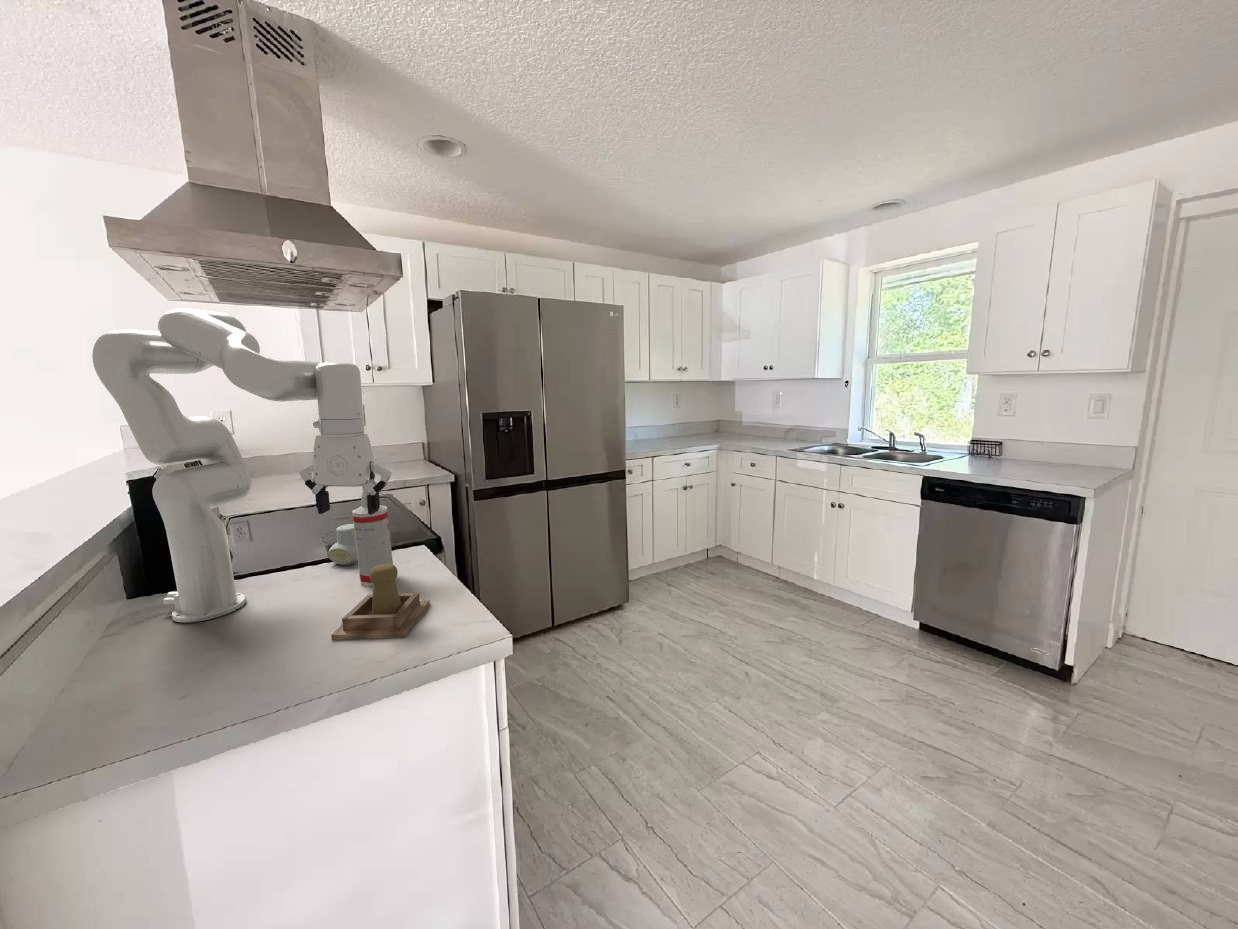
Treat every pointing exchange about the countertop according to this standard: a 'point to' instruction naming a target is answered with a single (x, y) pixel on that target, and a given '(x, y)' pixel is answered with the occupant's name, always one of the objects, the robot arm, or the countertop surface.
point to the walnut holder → (381, 619)
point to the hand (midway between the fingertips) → (348, 512)
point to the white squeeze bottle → (371, 538)
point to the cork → (385, 590)
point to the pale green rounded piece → (344, 546)
